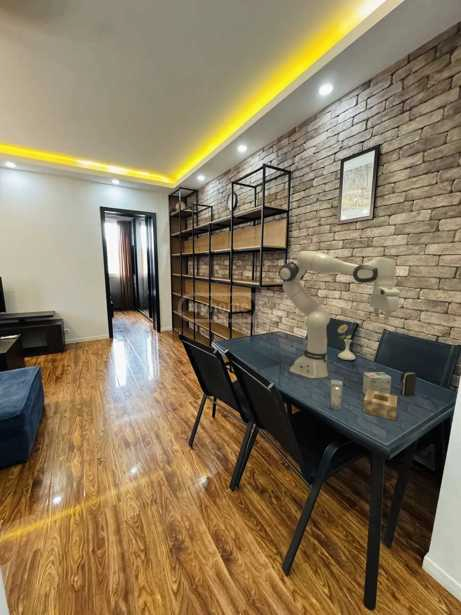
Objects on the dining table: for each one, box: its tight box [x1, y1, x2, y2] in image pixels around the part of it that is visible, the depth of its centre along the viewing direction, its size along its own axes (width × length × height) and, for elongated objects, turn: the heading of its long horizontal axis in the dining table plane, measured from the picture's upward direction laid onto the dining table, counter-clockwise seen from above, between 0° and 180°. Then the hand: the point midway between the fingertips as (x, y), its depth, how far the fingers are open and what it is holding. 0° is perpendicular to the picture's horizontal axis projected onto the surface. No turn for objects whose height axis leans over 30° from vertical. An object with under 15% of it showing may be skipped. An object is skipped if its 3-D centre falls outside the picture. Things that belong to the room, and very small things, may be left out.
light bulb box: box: [362, 371, 392, 395], centre depth 129 cm, size 11×7×11 cm, turn 92°
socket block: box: [362, 389, 398, 421], centre depth 115 cm, size 12×12×6 cm
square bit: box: [329, 379, 344, 402], centre depth 126 cm, size 5×5×8 cm
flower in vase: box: [337, 324, 356, 361], centre depth 181 cm, size 13×11×25 cm
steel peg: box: [330, 385, 343, 411], centre depth 117 cm, size 4×4×10 cm
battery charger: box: [399, 371, 418, 397], centre depth 130 cm, size 7×4×11 cm, turn 105°
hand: (381, 318), depth 126 cm, fingers open, 8 cm apart
